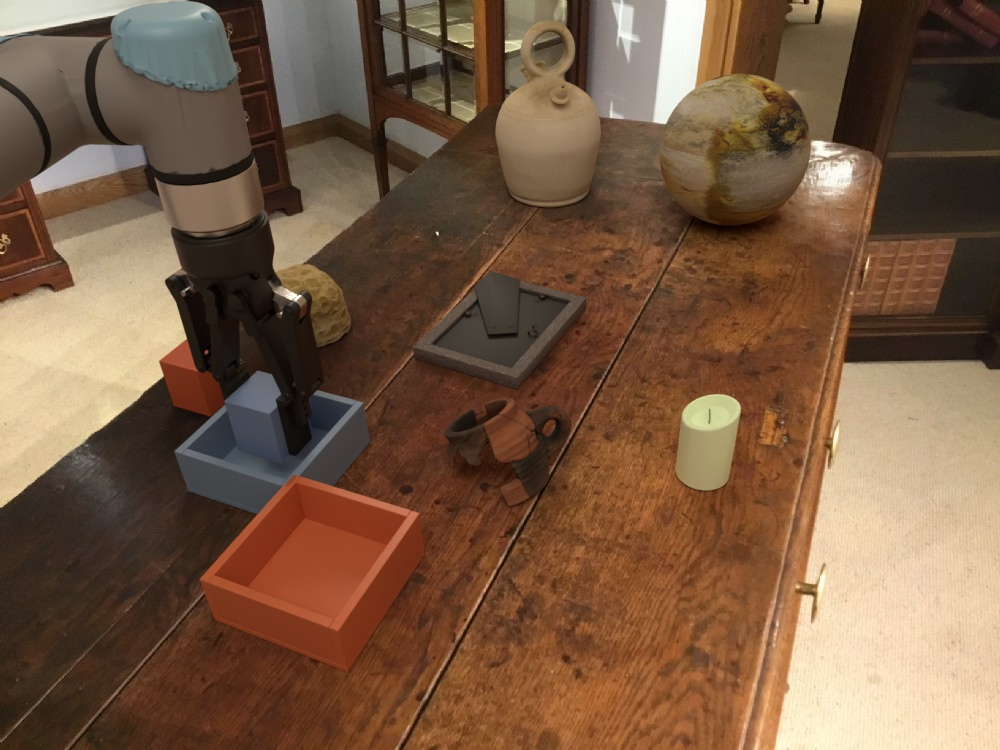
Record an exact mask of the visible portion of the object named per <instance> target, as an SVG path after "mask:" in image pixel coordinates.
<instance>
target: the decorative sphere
mask: <svg viewBox="0 0 1000 750" xmlns="http://www.w3.org/2000/svg"><path fill="white" fill-rule="evenodd" d="M800 105H801V104H799V102H798V101H797V100H796V99H795V97H794V96H793V95H792V94H791V93H790V92H789V91H788V90H787V89H786V88H784V87H783V86H781V85H780V84H778V83H776V82H775V81H774V80H770V79H768V78H766V77H764V76H760V75H757V74H756V75H755V74H750V73H749V74H748V73H732V74H724V75H721V76H717V77H714V78H711V79H709V80H707V81H704V82H703V83H701V84H700V85H697V86H696V87H695V88H693V89H692V90H691V91H689V92H688V93H687V94H686V95H685V96H684V97H682V99H681V100H680V101H679V102H678V103H677V105H676V106H675V108H674V109H673V110H672V111H671V113H670V115H669V117H668V118H667V120H666V123H665V125H664V128H663V130H662V134H661V137H660V143H659V166H660V172H661V174H662V178H663V181H664V183H665V186H666V188H667V190H668V191H669V193H670V195H671V196H672V198H673V199H674V200H675V202H676V203H677V204H678V205H679V206H680V207H681V208H682V209H683V210H685V212H687V213H688V214H690V215H692V216H694V218H697V219H699V220H701V221H703V222H706V223H709V224H713V225H718V226H731V227H732V226H741V225H748V224H751V223H754V222H757V221H760V220H762V219H764V218H766V217H768V216H770V215H772V214H773V213H774V212H776V211H778V210H780V208H782V207H783V206H784V205H785V204H786V203H787V202H788V201H789V200H790V199H791V198H792V196H793V195H794V194H795V193H796V191H797V190H798V188H799V186H800V185H801V183H802V182H803V179H804V178H805V175H806V173H807V169H808V166H809V163H810V159H811V151H812V140H811V131H810V125H809V123H808V120H807V117H806V115H805V113H804V111H803V109H802V107H801V106H800Z"/></svg>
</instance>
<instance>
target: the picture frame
mask: <svg viewBox="0 0 1000 750" xmlns="http://www.w3.org/2000/svg"><path fill="white" fill-rule="evenodd" d="M473 287H474V289H473V290H472V291H471V292H470V293H469V294H467V295H466V296H465V297H464V298H463V299H462V300H461V301H460V302H459V303H458V304H457V305H456V306H454V308H452V309H451V310H450V312H448V313H447V314H446V315H445V316H444V317H443V318H442V319H441V320H439V322H438V323H436V325H434V326H433V327H432V328H431V329H430V330H429V331H427V333H426V334H425V335H424V336H423V337H422V338H420V339H419V340H418V342H416V343H415V344H414V345H413V346H412V351H413V358H414V359H416V360H420V361H422V362H425V363H428V364H432V365H435V366H439V367H442V368H446V369H449V370H451V371H455V372H458V373H461V374H465V375H469V376H472V377H475V378H478V379H481V380H484V381H488V382H491V383H494V384H497V385H501V386H504V387H507V388H511V389H513V390H517V391H518V390H519V389H520V388H521V387H522V385H523V384H524V383H525V382H526V381H527V380H528V378H529V377H530V376H531V375H532V374H533V373H534V371H535V370H536V369H537V368H538V366H539V365H540V364H541V363H542V361H543V360H544V359H545V358H546V357H547V356H548V355H549V353H550V352H551V351H553V349H554V347H555V346H556V345H558V343H559V341H560V340H561V339H562V338H563V337H564V336H565V334H566V333H567V332H568V331H569V330H570V329H571V328H572V326H573V325H574V324H575V322H577V320H578V319H579V318H580V317H581V315H582V314H583V313H584V312H585V311H586V309H587V299H588V298H587V297H585V296H582V295H577V294H574V293H569V292H566V291H561V290H558V289H553V288H549V287H545V286H541V285H538V284H533V283H529V282H525V281H521V280H520V278H517V277H514V276H509V275H506V274H503V273H499V272H496V271H492V270H490V271H489V272H487V274H486V275H485V276H483V277H482V278H481V279H480V280H479V281H478V282H477V283H476V284H475V285H474V286H473Z"/></svg>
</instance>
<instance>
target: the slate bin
mask: <svg viewBox="0 0 1000 750" xmlns="http://www.w3.org/2000/svg"><path fill="white" fill-rule="evenodd" d="M309 403H310V409H311V413H312V415H311V418H310V423H311V427H312V432H311V435H312V439H311V440H310V441H309V442H308V443H307V445H306V446H305V447H304V448H303V449H302V450H301V451H300V452H299V453H298V454H297V456H293V455H290V456H289V457H288V458H287V459H286V460H285V461H284V462H283V464H281V463H278V462H274V461H271V460H268V459H265V458H261V457H258V456H255V455H251V454H248V453H245V452H242V451H239V450H238V447H237V443H236V440H235V436H234V433H233V430H232V426H231V423H230V419H229V416H228V412H227V409H226V406H225V404H224V405H223V406H222V407H221V408H220V409H219V410H218V411H217V412H216V413H215V414H213V415H212V416H211V417H210V418H209V419H208V420H206V422H204V423H203V425H201V426H200V427H199V428H198V429H197V430H196V431H194V432H193V433H192V434H191V436H189V438H187V439H186V440H185V441H183V443H182V444H180V446H178V448H176V449H175V450H174V455H175V457H176V460H177V461H176V462H177V463H178V467H179V469H180V472H181V475H182V478H183V481H184V484H185V486H186V490H187V491H188V493H193V494H195V495H198V496H200V497H204V498H207V499H210V500H213V501H215V502H220V503H223V504H225V505H228V506H231V507H234V508H238V509H240V510H243V511H247V512H249V513H252V514H254V515H255V514H256V515H257V514H258V513H259V512H260V511H261V510H262V509H263V508H264V507H265V505H266V504H267V503H268V502H269V501H270V500H271V499H272V498H273V496H274V495H275V494H276V493H277V492H278V491H279V490H280V489H281V488H282V486H284V485H285V484H286V482H287V481H288V480H289V479H290V478H291V477H292V476H295V475H297V476H301V477H304V478H307V479H311V480H314V481H317V482H320V483H324V484H327V485H330V486H333V487H335V485H336V484H337V483H338V481H340V479H341V478H342V477H343V475H344V474H345V473H346V472H347V470H349V468H350V467H351V466H352V465H353V463H354V462H355V461H356V460H357V459H358V458H359V456H360V455H361V454H362V452H364V450H365V449H366V447H367V446H368V445H369V444H370V443H371V438H370V433H369V426H368V420H367V414H366V408H365V403H364V401H359V400H356V399H353V398H349V397H345V396H341V395H337V394H334V393H330V392H326V391H323V390H322V391H321V390H319V389H318V390H317V391H316V392H315V393H314V394H313V395H312V396H311V397H310V398H309ZM295 478H296V477H295ZM293 479H294V478H293ZM291 481H292V480H291ZM291 481H290V482H289V484H291V483H292V482H291ZM293 481H294V480H293ZM287 483H288V482H287ZM286 485H287V484H286Z"/></svg>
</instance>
